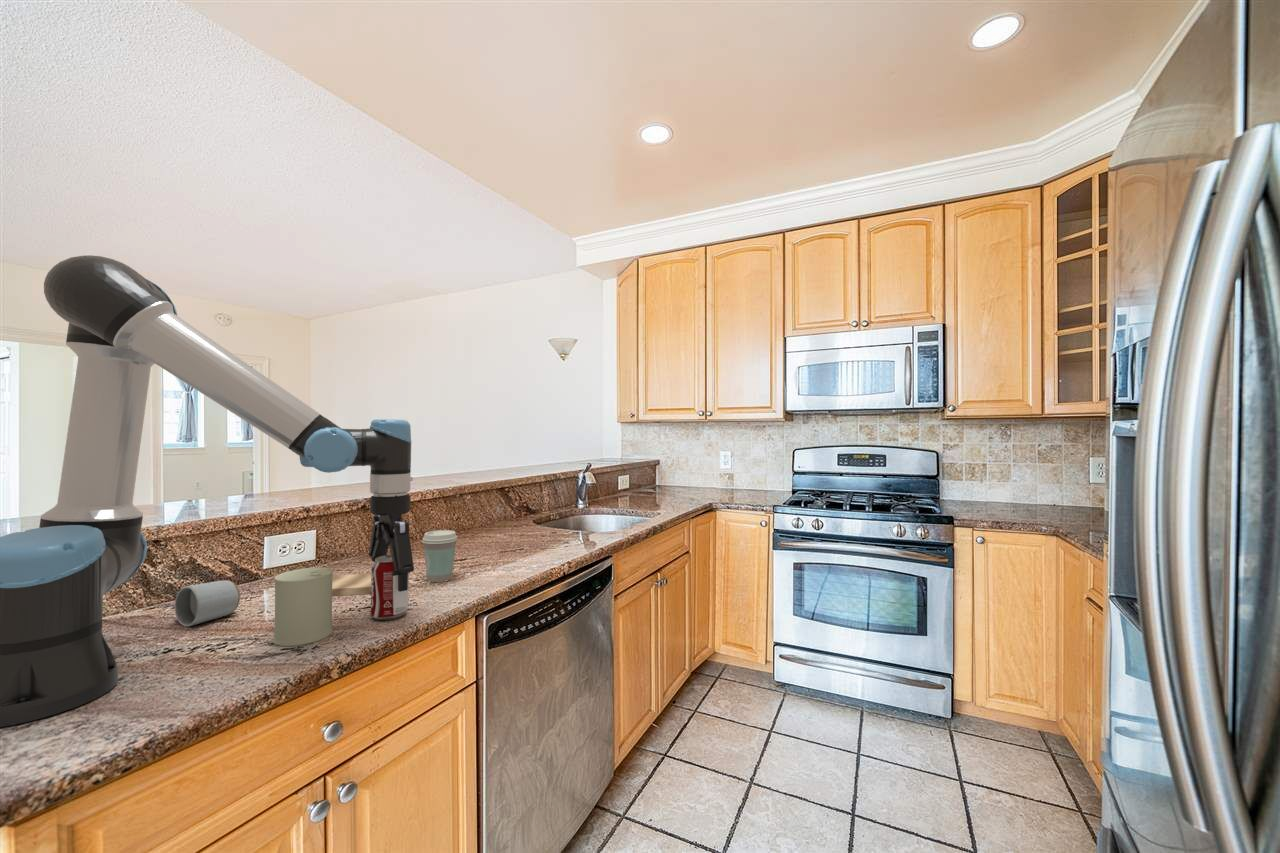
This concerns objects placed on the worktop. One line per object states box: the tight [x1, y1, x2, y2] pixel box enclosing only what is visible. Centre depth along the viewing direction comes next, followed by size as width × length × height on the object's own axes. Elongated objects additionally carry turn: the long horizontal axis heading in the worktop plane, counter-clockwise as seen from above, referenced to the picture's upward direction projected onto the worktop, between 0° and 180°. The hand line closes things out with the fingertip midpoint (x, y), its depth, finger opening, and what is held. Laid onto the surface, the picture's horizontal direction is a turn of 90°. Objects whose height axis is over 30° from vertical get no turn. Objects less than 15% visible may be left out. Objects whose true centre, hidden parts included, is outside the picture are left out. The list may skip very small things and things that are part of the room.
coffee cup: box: [421, 529, 459, 583], centre depth 131 cm, size 8×8×12 cm
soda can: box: [370, 554, 408, 621], centre depth 105 cm, size 7×7×12 cm
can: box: [272, 566, 334, 647], centre depth 95 cm, size 9×9×12 cm
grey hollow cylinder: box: [174, 580, 241, 627], centre depth 103 cm, size 11×8×8 cm
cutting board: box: [332, 573, 371, 597], centre depth 124 cm, size 16×12×2 cm
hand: (389, 599), depth 105 cm, fingers open, 12 cm apart
